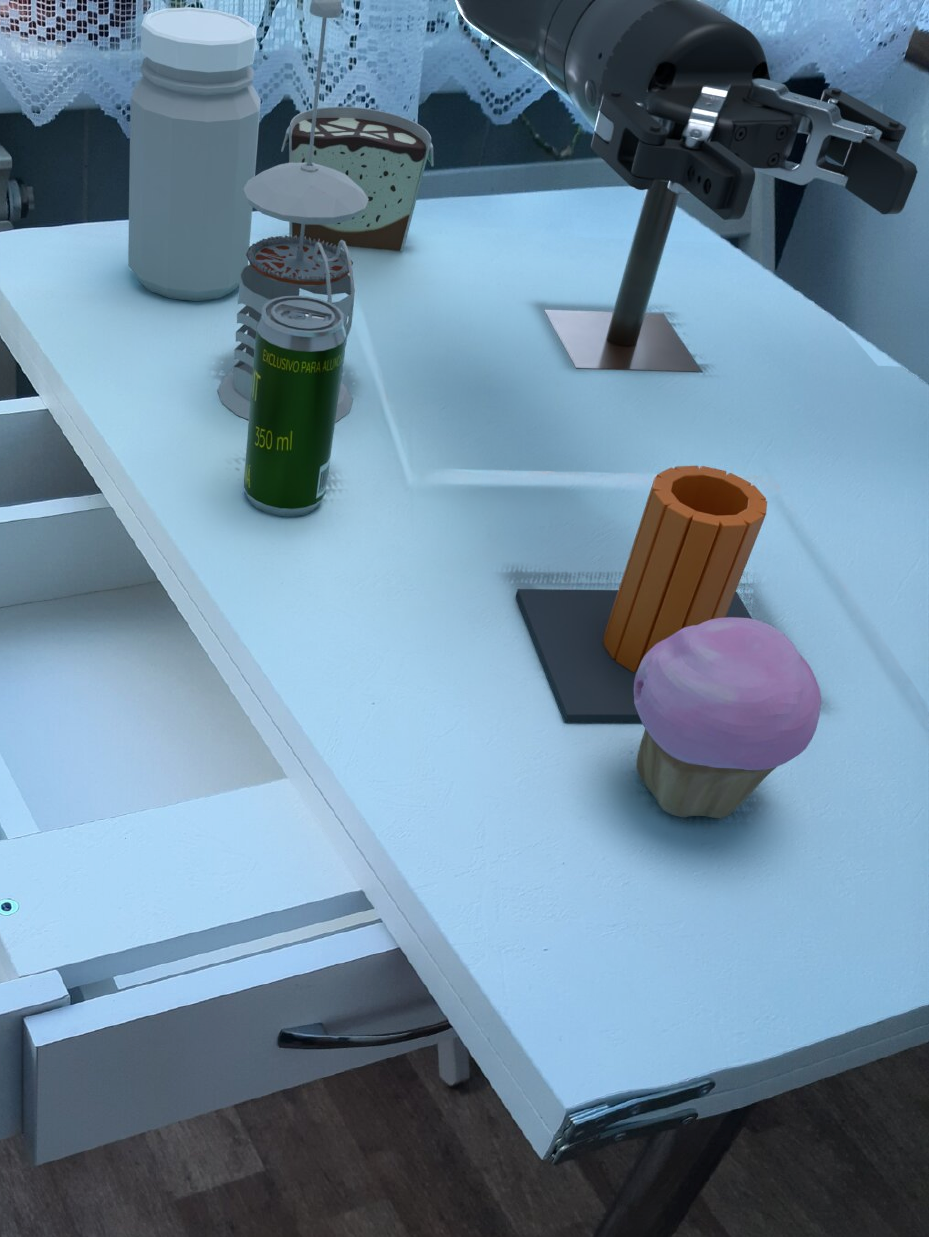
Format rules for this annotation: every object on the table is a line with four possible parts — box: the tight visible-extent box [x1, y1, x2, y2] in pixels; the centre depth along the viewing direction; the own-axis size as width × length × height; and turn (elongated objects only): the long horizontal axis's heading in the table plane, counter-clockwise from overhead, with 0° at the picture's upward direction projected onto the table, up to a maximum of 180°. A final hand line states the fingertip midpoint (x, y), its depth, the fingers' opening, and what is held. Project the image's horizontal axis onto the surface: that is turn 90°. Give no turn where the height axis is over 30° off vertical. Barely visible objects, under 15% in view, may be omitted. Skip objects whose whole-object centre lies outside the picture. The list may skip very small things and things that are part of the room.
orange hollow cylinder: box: [603, 465, 768, 673], centre depth 77 cm, size 6×6×10 cm
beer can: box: [243, 295, 347, 518], centre depth 86 cm, size 5×5×12 cm
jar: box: [127, 6, 262, 302], centre depth 105 cm, size 10×10×18 cm
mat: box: [515, 588, 753, 724], centre depth 81 cm, size 14×12×1 cm
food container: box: [280, 106, 435, 253], centre depth 115 cm, size 12×6×10 cm, turn 88°
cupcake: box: [634, 617, 822, 819], centre depth 69 cm, size 9×9×10 cm
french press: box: [217, 0, 369, 423], centre depth 90 cm, size 10×12×25 cm
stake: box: [543, 179, 704, 373], centre depth 103 cm, size 10×10×15 cm
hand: (825, 195), depth 63 cm, fingers open, 8 cm apart
